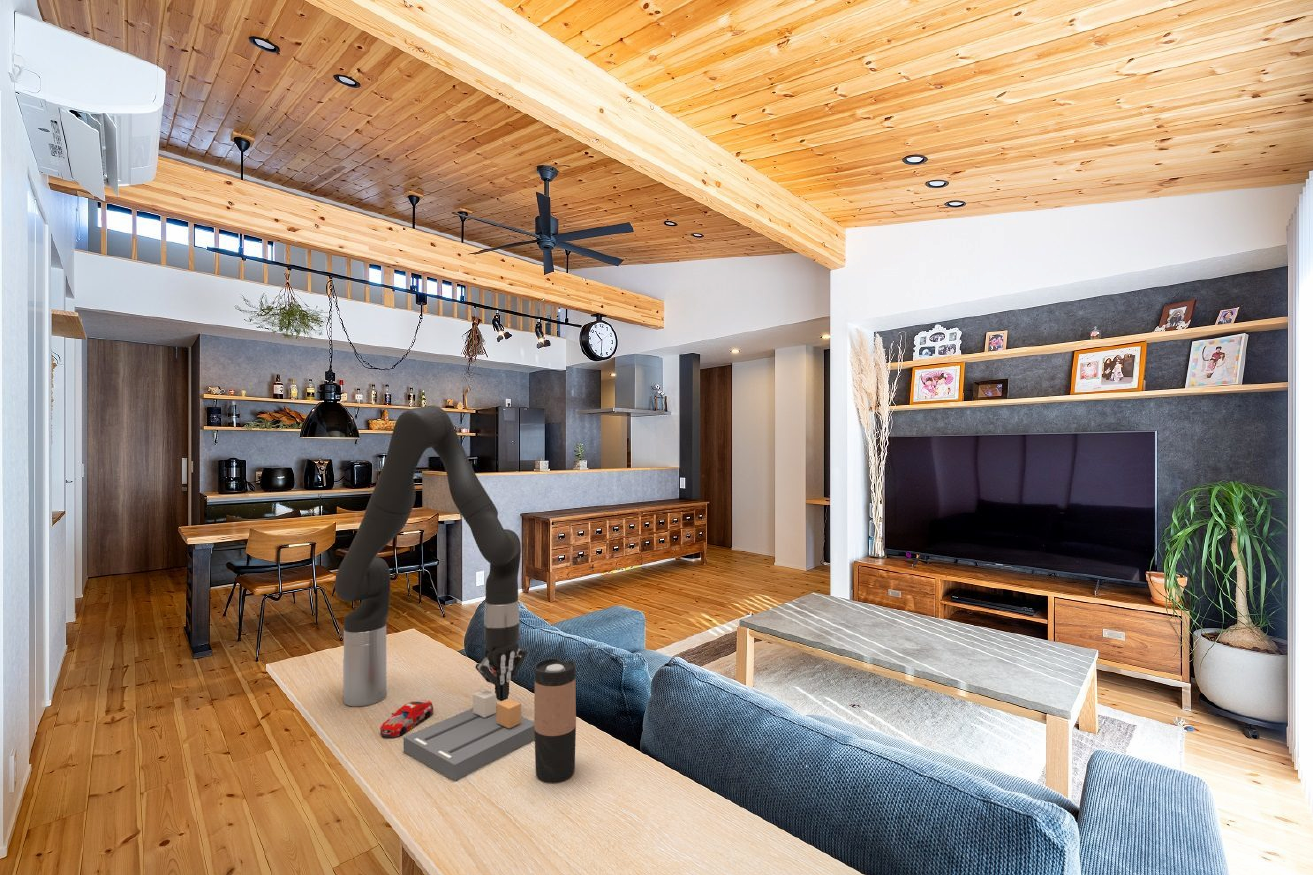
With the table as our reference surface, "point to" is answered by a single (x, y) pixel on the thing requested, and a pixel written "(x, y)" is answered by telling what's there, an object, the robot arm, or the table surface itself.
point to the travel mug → (555, 720)
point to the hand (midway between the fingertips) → (501, 699)
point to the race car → (406, 718)
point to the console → (466, 743)
